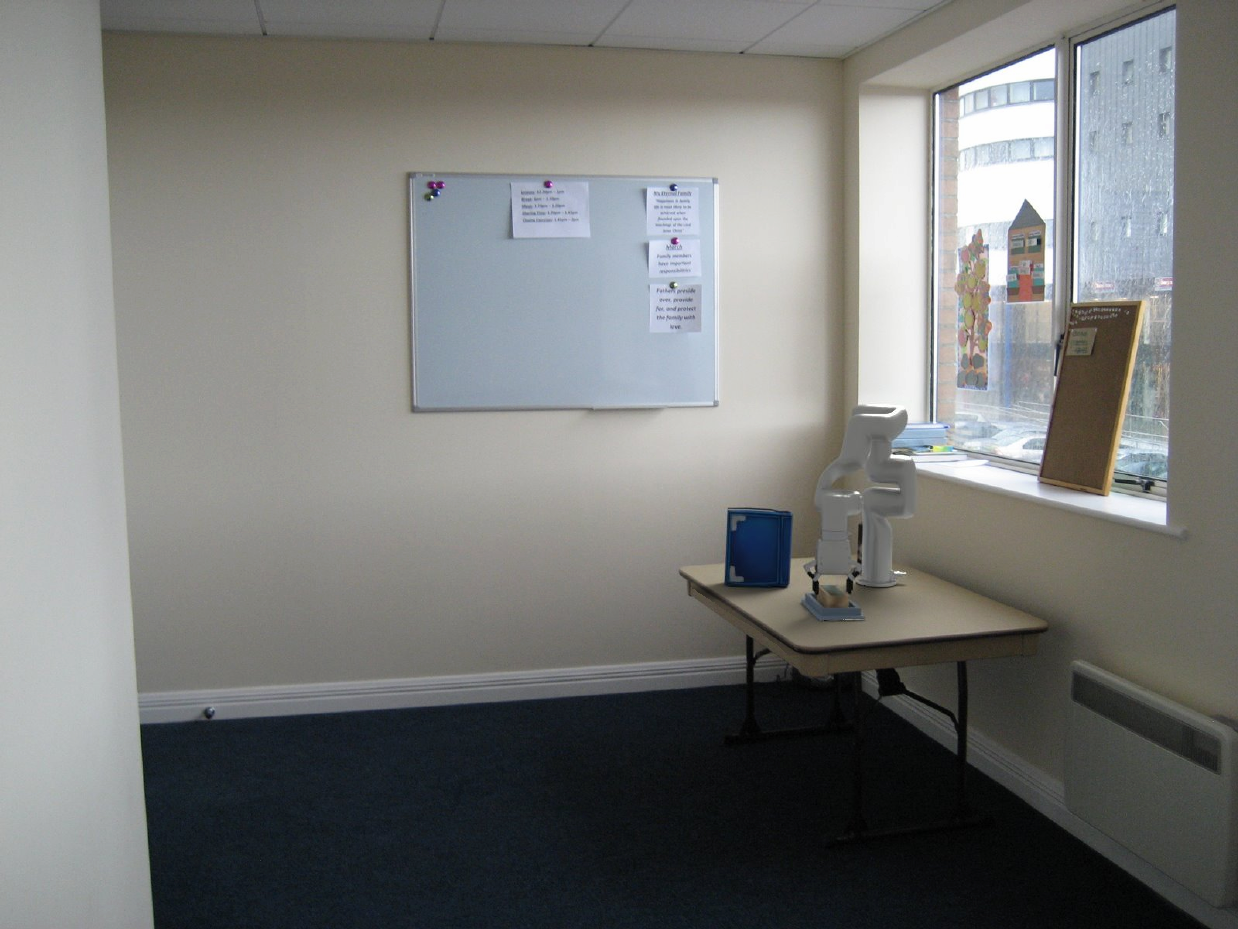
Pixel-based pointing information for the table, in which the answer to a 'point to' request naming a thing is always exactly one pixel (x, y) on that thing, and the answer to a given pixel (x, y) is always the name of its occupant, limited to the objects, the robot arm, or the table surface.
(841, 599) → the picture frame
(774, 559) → the book
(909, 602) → the table surface
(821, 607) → the blue tray
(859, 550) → the coffee box
